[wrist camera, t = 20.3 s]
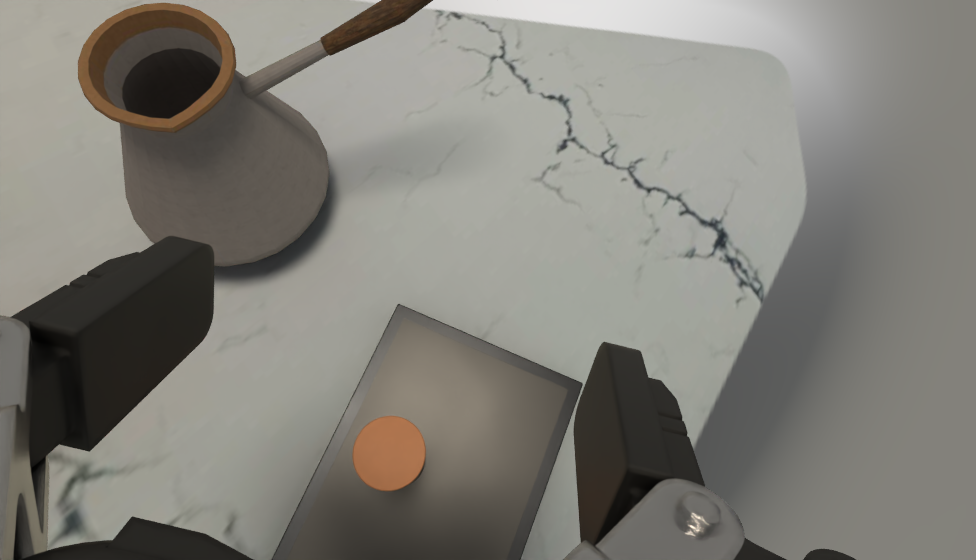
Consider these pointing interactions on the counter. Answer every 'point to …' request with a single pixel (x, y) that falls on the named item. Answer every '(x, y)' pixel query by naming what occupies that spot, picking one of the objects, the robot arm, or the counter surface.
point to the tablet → (439, 452)
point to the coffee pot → (214, 127)
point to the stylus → (389, 453)
